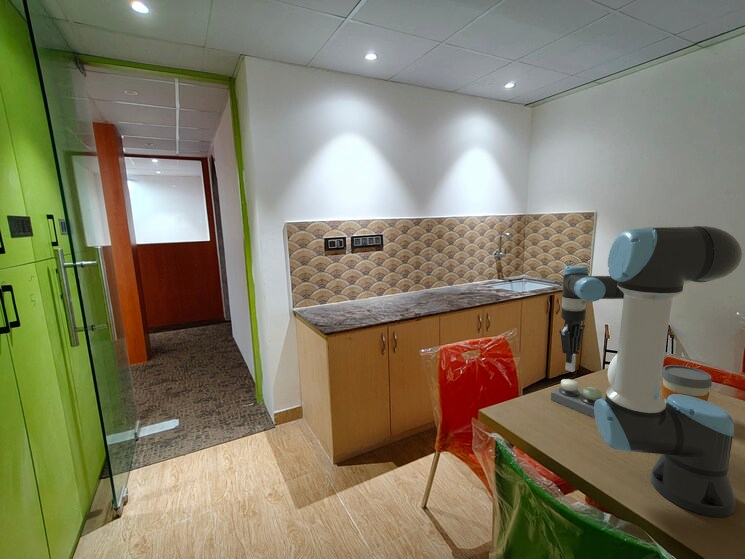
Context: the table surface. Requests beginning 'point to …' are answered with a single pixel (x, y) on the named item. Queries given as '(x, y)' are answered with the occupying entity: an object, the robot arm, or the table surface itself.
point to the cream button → (569, 385)
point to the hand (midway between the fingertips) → (570, 370)
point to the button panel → (574, 400)
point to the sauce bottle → (612, 370)
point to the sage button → (592, 393)
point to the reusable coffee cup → (685, 382)
